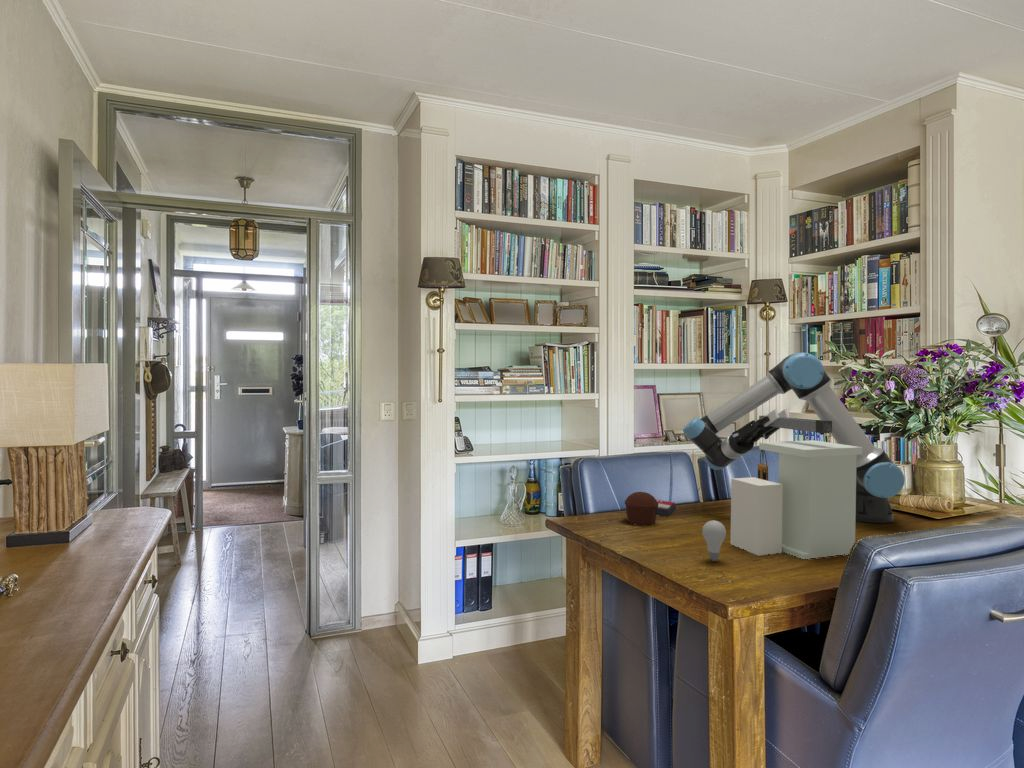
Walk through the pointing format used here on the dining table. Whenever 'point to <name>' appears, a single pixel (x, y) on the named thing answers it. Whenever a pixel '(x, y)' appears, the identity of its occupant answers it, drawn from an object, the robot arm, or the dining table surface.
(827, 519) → the stand
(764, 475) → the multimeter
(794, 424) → the rod
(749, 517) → the post
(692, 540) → the dining table surface
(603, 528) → the dining table surface
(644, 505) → the muffin
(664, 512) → the red and black box
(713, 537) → the lightbulb
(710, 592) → the dining table surface
